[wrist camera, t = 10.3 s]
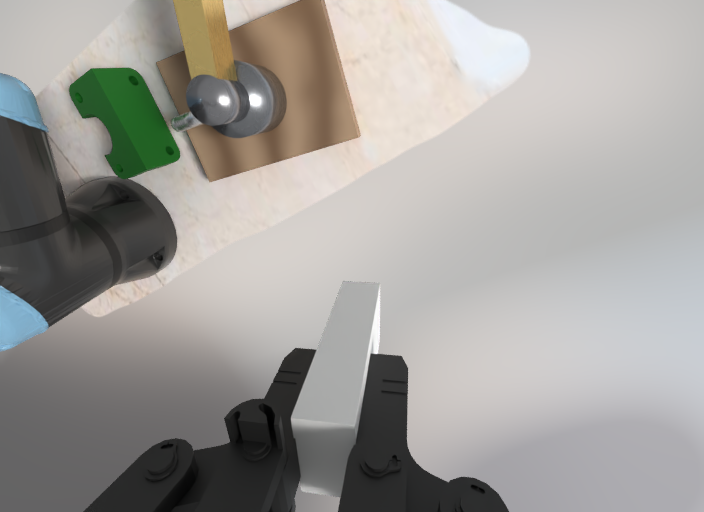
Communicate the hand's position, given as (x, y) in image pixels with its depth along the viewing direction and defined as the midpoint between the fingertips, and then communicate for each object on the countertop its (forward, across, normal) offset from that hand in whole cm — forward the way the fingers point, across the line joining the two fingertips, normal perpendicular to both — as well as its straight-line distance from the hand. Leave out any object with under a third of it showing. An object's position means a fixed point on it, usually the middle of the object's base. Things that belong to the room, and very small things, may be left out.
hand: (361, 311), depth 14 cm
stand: (+30, +16, -8) cm, 35 cm away
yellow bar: (+22, +16, -14) cm, 31 cm away
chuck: (+28, +18, -7) cm, 35 cm away
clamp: (+31, +33, -6) cm, 45 cm away
